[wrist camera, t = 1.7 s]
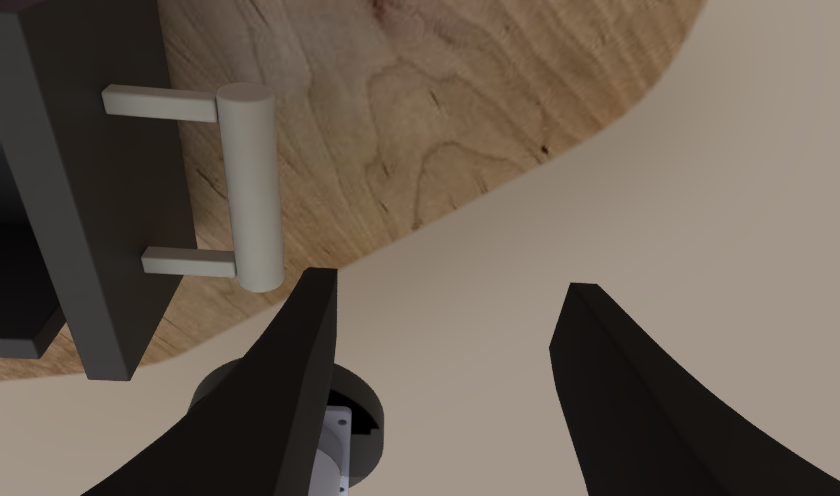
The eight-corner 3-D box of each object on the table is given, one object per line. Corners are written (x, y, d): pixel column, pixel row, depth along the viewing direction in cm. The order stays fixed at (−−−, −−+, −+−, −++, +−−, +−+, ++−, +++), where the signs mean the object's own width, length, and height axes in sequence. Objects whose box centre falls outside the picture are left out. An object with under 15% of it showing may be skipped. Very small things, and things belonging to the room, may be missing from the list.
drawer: (296, -29, 16) (243, 33, 11) (304, 254, 22) (273, 387, 16) (-294, -89, 15) (-699, -54, 9) (-116, 229, 21) (-301, 364, 15)
